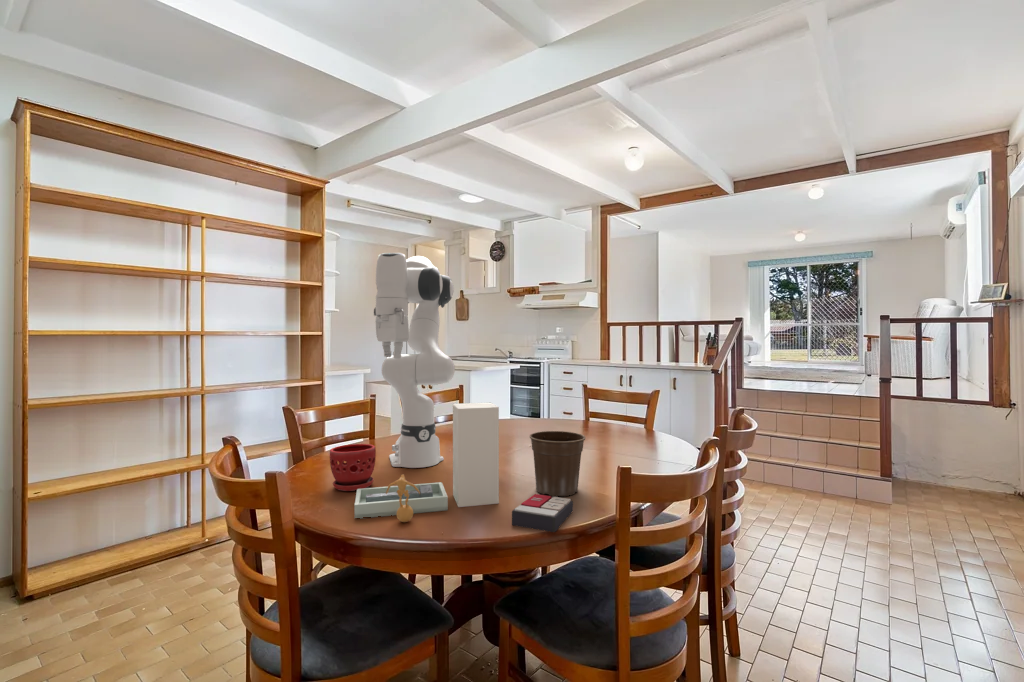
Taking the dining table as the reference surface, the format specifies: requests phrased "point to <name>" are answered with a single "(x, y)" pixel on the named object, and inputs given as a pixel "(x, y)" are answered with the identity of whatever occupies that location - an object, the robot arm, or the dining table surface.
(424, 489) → the stop bar
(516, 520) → the dark grey box
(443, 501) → the tray
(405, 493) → the figurine
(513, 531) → the dining table surface
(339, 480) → the plant pot
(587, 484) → the dining table surface
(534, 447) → the plant pot
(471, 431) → the post
